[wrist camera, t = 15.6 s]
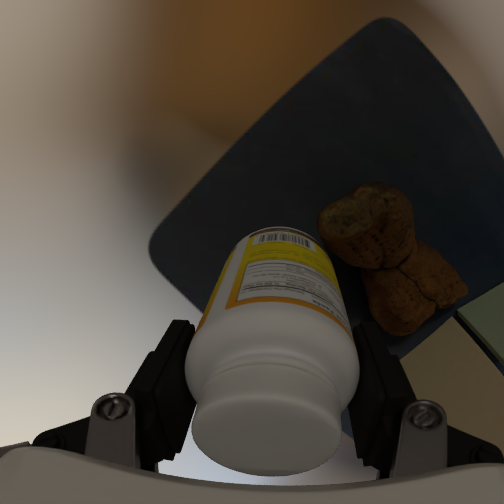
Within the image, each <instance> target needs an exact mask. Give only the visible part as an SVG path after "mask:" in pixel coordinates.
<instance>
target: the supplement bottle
mask: <svg viewBox="0 0 504 504" xmlns="http://www.w3.org/2000/svg"><path fill="white" fill-rule="evenodd" d="M359 375H360V367H359V360H358V354H357V350H356V346H355V343H354V339H353V335H352V332H351V328H350V324H349V320H348V317H347V313H346V310H345V306H344V302H343V299H342V295H341V291H340V288H339V285H338V282H337V278H336V275H335V271H334V267H333V264H332V262H331V260H330V258H329V256H328V254H327V252H326V251H325V249H324V248H323V247H322V246H321V245H320V244H319V242H317V241H316V240H315V239H314V238H312V237H311V236H309V235H308V234H306V233H304V232H302V231H299V230H296V229H293V228H288V227H270V228H265V229H261V230H258V231H256V232H254V233H251V234H250V235H248V236H246V237H245V238H244V239H242V240H241V241H240V242H239V243H238V244H237V245H236V246H235V247H234V249H233V250H232V252H231V253H230V255H229V257H228V259H227V261H226V263H225V266H224V268H223V270H222V273H221V275H220V277H219V279H218V282H217V284H216V286H215V288H214V290H213V293H212V295H211V297H210V300H209V302H208V304H207V307H206V309H205V311H204V313H203V316H202V318H201V320H200V322H199V325H198V327H197V329H196V332H195V334H194V336H193V339H192V341H191V343H190V346H189V349H188V352H187V356H186V360H185V377H186V382H187V385H188V388H189V390H190V393H191V394H192V396H193V398H194V399H195V401H196V402H197V407H196V411H195V415H194V418H193V421H192V435H193V439H194V441H195V443H196V445H197V446H198V448H199V449H200V450H201V451H202V452H203V453H204V454H205V455H207V456H208V457H209V458H210V459H211V460H213V461H215V462H216V463H218V464H220V465H222V466H224V467H227V468H229V469H232V470H235V471H238V472H242V473H246V474H251V475H257V476H288V475H293V474H298V473H302V472H306V471H309V470H311V469H314V468H316V467H318V466H320V465H321V464H323V463H325V462H326V461H328V460H329V459H330V458H331V457H332V456H333V455H334V454H335V453H336V451H337V450H338V447H339V446H340V443H341V438H342V427H341V413H342V411H343V410H344V409H345V408H346V407H347V406H348V404H349V403H350V401H351V400H352V398H353V396H354V394H355V392H356V389H357V386H358V382H359Z"/></svg>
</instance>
